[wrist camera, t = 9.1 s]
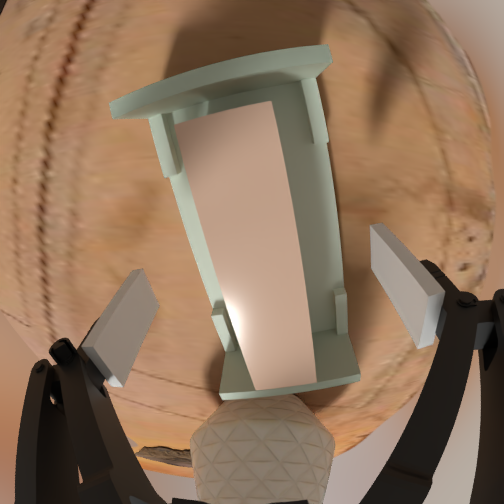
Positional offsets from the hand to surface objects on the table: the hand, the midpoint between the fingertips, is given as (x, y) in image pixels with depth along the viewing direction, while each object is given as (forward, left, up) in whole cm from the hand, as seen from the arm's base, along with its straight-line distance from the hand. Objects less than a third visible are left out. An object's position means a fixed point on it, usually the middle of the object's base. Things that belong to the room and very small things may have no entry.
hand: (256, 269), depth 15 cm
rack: (+1, 0, -8) cm, 8 cm away
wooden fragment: (+45, -26, -8) cm, 52 cm away
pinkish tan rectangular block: (+1, 0, -6) cm, 6 cm away
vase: (+26, -5, -8) cm, 27 cm away
